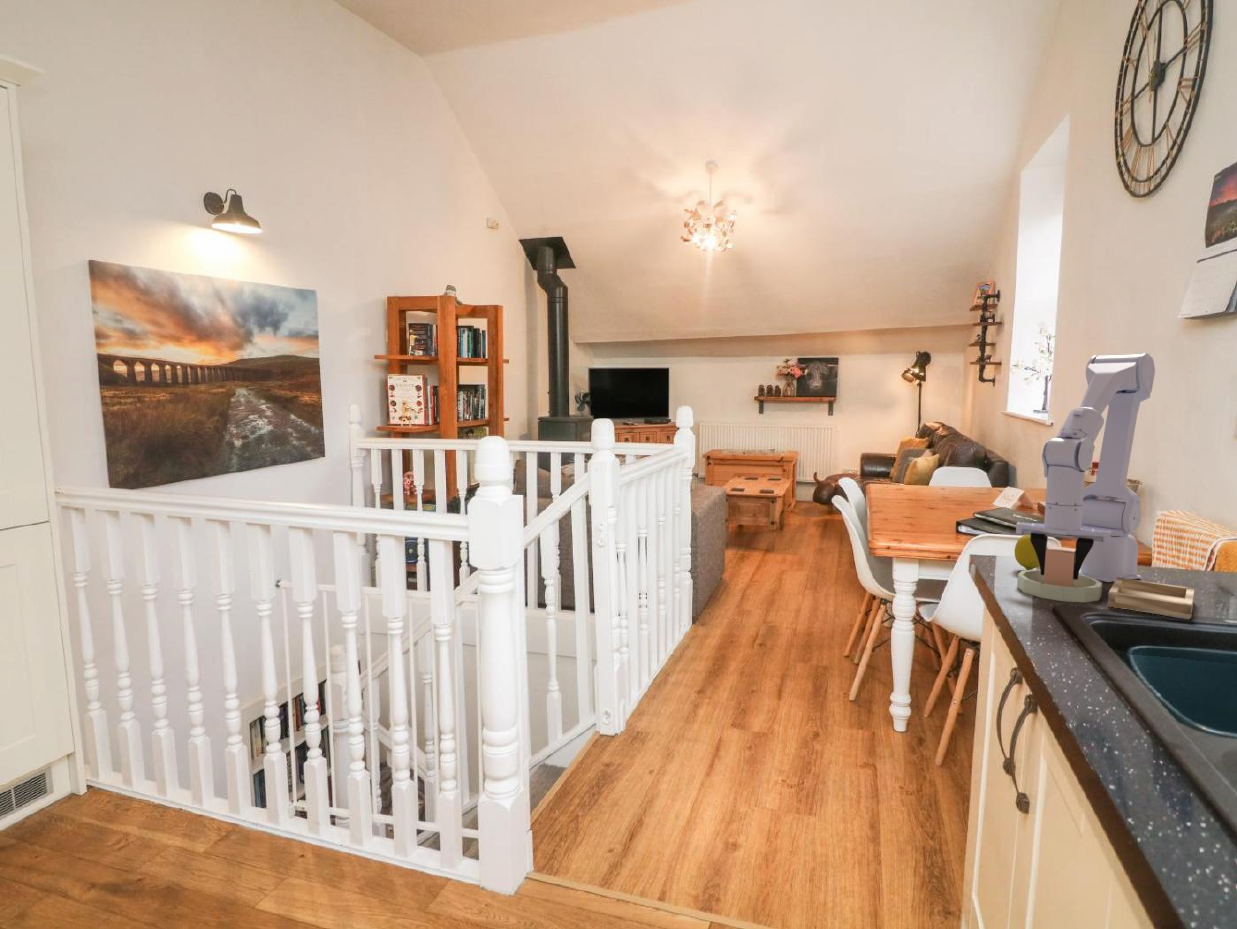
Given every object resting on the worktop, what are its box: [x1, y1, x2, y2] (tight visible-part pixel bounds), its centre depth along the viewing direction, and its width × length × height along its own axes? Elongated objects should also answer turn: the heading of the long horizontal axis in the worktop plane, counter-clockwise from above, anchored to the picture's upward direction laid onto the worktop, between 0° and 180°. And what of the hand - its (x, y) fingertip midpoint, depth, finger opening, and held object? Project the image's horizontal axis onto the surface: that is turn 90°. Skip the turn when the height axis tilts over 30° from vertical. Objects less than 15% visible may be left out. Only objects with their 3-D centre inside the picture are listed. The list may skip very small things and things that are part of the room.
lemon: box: [1014, 534, 1040, 570], centre depth 141 cm, size 6×6×8 cm
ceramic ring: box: [1016, 568, 1103, 603], centre depth 127 cm, size 13×13×2 cm
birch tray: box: [1107, 577, 1195, 619], centre depth 119 cm, size 13×11×2 cm
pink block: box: [1044, 545, 1076, 587], centre depth 126 cm, size 4×4×8 cm
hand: (1059, 576), depth 127 cm, fingers closed on pink block, 4 cm apart
